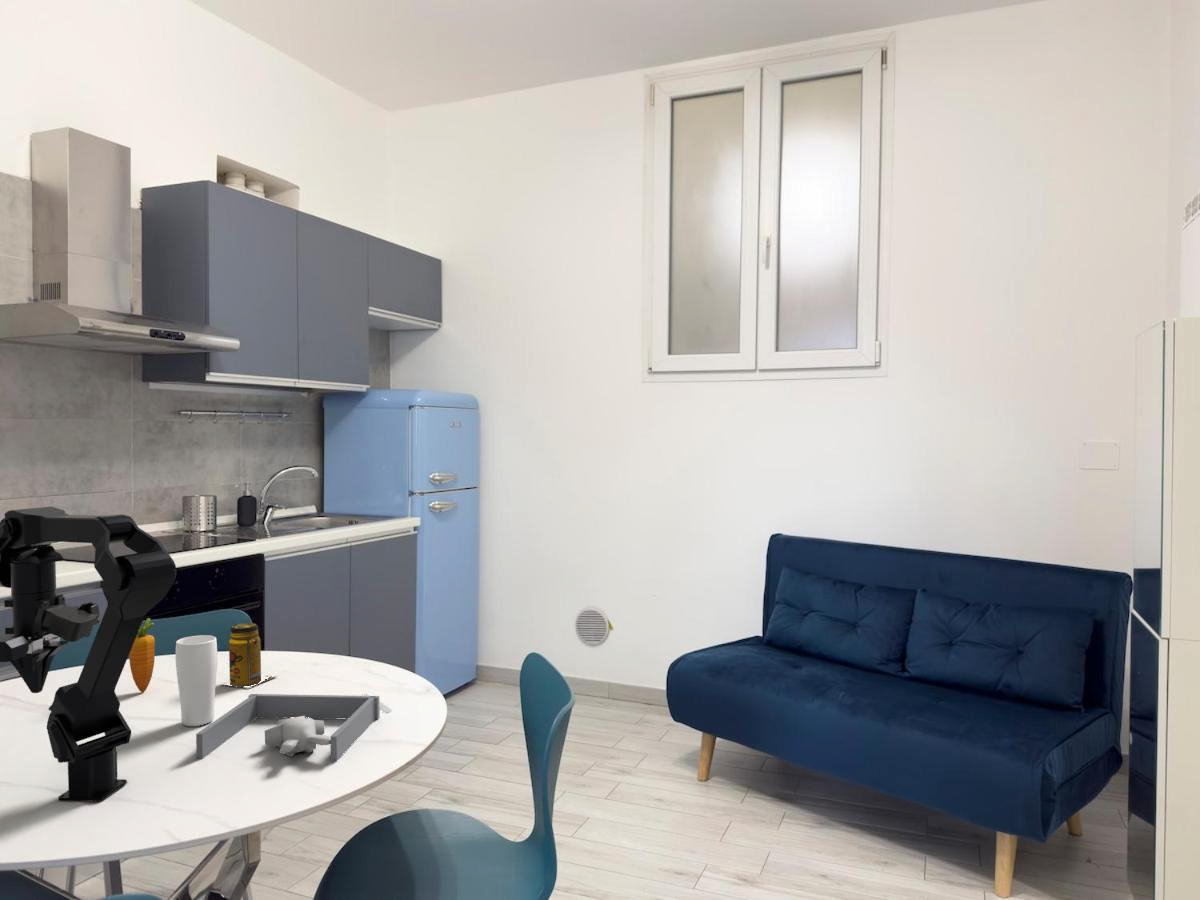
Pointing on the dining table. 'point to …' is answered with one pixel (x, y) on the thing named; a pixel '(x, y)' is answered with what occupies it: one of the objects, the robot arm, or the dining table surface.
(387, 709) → the butter knife
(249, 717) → the grey u-shaped fence
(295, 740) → the white rounded figure
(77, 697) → the robot arm
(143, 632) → the carrot
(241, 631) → the condiment
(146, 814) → the dining table surface
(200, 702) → the drinking glass
